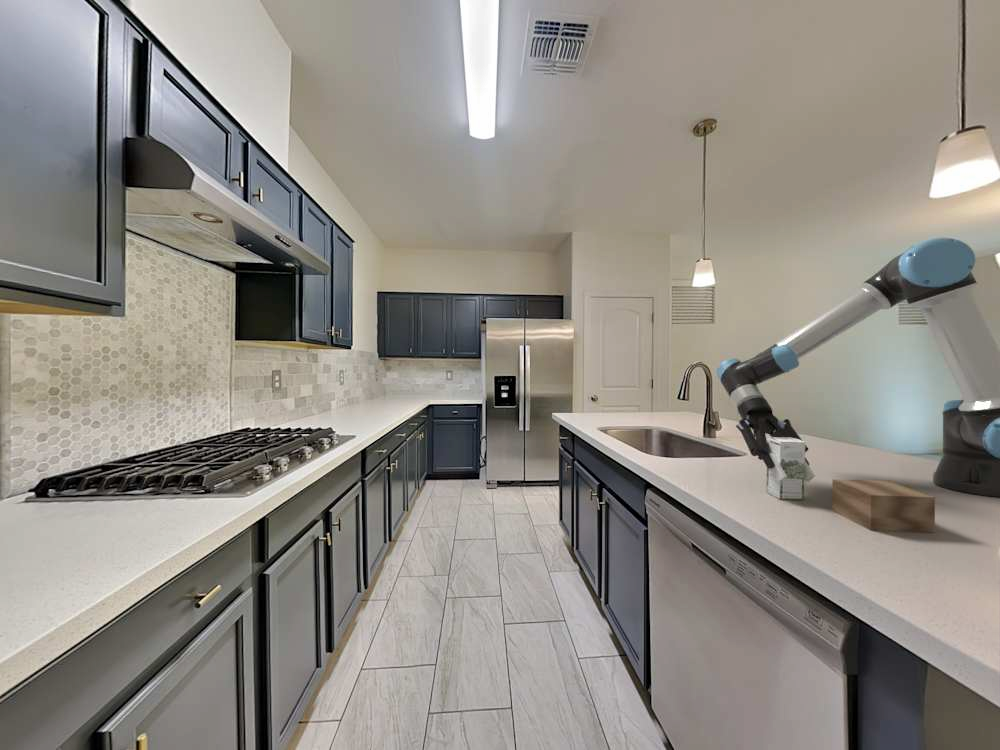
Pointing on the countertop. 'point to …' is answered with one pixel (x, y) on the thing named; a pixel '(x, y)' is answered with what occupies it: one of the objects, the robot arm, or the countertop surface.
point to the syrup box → (787, 468)
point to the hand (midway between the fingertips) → (796, 479)
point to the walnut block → (884, 506)
